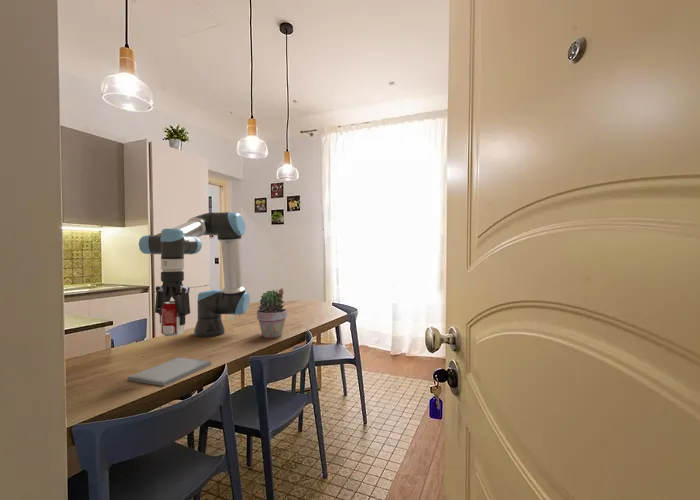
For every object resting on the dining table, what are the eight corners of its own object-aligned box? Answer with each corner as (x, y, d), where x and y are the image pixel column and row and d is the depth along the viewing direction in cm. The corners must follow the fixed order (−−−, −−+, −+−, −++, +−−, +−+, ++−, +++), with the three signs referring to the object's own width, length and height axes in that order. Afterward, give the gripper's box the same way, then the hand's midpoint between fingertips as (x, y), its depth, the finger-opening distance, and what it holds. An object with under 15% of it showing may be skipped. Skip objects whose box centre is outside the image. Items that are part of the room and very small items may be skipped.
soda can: (173, 337, 119) (173, 303, 119) (157, 336, 120) (157, 302, 120) (186, 332, 125) (186, 300, 125) (170, 331, 127) (171, 300, 127)
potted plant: (257, 331, 184) (257, 286, 184) (292, 331, 183) (292, 286, 183) (245, 339, 166) (246, 289, 166) (284, 340, 165) (284, 290, 165)
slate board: (179, 360, 136) (179, 357, 136) (211, 364, 131) (211, 361, 131) (128, 380, 115) (128, 376, 115) (164, 386, 110) (164, 382, 110)
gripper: (143, 270, 122) (143, 333, 122) (185, 271, 116) (185, 337, 116) (160, 269, 129) (160, 328, 129) (201, 270, 123) (201, 332, 123)
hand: (172, 333), depth 123 cm, fingers closed on soda can, 7 cm apart
